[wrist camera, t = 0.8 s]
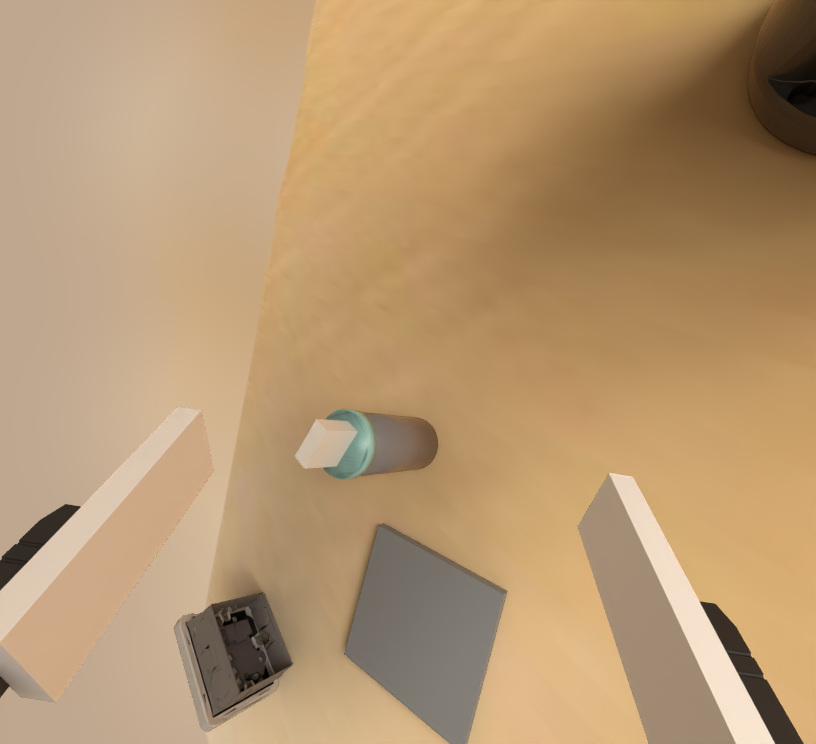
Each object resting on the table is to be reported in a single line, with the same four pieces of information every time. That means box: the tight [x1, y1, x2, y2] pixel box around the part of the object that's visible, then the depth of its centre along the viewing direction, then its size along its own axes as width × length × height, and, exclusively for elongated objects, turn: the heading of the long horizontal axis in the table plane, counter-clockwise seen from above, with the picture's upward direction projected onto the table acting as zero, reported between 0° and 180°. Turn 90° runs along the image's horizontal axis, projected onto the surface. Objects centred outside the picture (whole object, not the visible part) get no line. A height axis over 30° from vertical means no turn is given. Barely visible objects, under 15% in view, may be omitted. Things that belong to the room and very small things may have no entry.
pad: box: [344, 524, 507, 744], centre depth 32 cm, size 12×12×1 cm
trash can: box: [294, 409, 438, 479], centre depth 30 cm, size 5×5×13 cm
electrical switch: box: [174, 592, 293, 732], centre depth 37 cm, size 9×5×9 cm, turn 41°
